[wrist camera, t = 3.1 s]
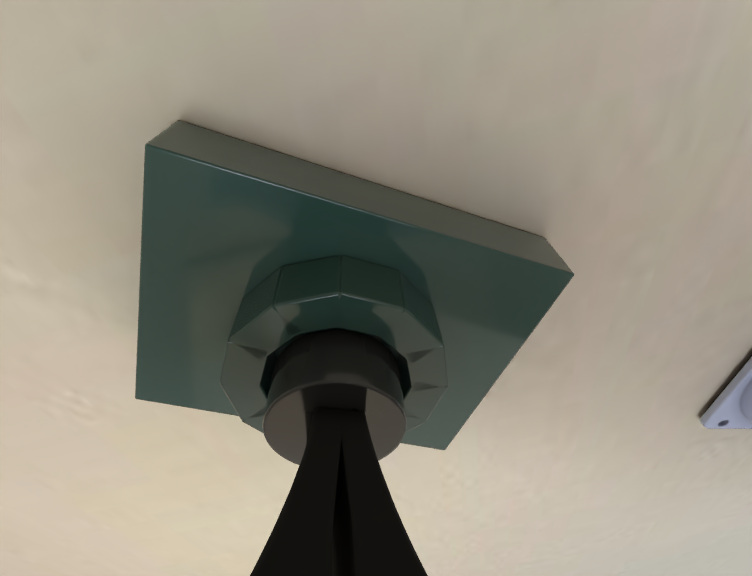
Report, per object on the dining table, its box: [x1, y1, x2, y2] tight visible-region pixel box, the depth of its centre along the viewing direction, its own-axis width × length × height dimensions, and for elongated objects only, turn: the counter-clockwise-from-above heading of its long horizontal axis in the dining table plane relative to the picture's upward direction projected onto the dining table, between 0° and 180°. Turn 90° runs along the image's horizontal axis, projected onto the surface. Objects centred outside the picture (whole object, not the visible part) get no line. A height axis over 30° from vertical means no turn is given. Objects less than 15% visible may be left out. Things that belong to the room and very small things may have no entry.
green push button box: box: [135, 120, 574, 450], centre depth 15 cm, size 13×10×4 cm
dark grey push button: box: [263, 329, 407, 465], centre depth 12 cm, size 4×4×2 cm
